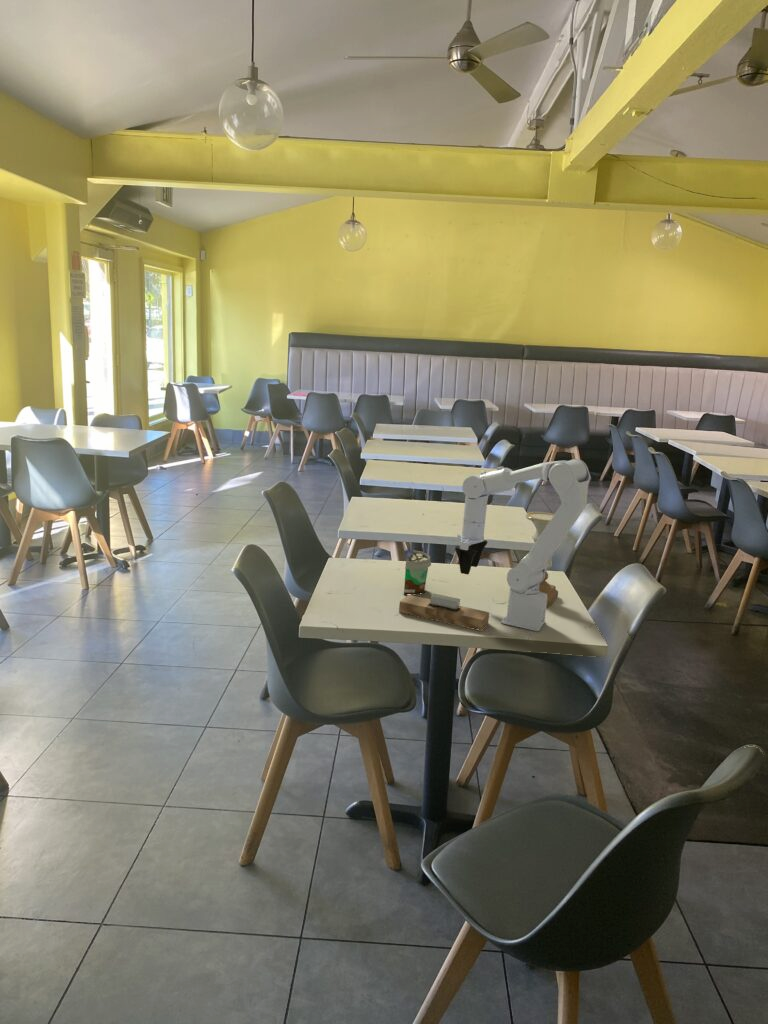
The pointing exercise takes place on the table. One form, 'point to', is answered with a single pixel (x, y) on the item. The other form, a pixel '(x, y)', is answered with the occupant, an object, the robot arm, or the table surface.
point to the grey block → (445, 602)
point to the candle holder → (552, 594)
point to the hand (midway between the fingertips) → (469, 569)
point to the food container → (416, 572)
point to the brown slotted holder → (444, 613)
